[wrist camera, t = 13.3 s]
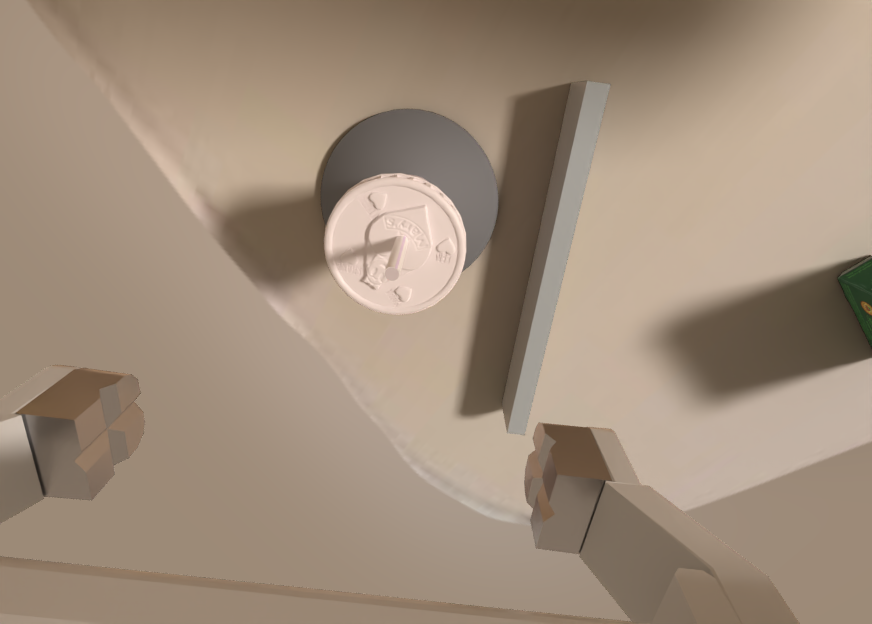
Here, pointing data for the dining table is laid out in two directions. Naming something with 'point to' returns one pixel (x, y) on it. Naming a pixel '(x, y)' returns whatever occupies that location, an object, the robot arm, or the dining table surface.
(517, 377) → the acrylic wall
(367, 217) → the smoothie
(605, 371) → the dining table surface
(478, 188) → the pad
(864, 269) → the coffee box
